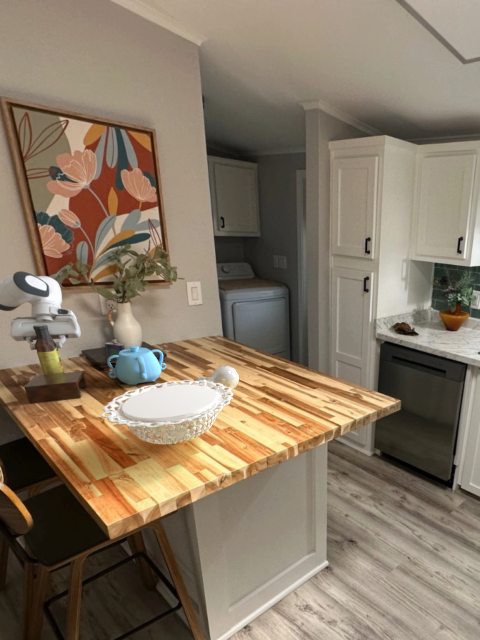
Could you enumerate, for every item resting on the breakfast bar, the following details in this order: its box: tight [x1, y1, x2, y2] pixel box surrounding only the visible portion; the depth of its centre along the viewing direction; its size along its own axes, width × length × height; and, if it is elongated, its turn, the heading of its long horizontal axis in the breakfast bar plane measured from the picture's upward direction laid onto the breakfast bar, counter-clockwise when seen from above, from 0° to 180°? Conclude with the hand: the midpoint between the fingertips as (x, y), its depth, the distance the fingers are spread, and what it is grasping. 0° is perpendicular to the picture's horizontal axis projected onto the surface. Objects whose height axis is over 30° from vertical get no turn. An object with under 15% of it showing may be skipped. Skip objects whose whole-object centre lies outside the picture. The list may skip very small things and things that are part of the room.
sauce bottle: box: [33, 324, 65, 375], centre depth 149 cm, size 7×6×20 cm
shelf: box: [23, 370, 88, 405], centre depth 142 cm, size 14×12×6 cm
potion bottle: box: [193, 365, 240, 391], centre depth 149 cm, size 9×10×15 cm
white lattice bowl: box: [100, 379, 235, 446], centre depth 113 cm, size 32×32×13 cm
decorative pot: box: [106, 345, 167, 386], centre depth 156 cm, size 16×16×14 cm
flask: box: [104, 338, 126, 359], centre depth 173 cm, size 9×3×11 cm, turn 74°
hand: (46, 348), depth 148 cm, fingers closed on sauce bottle, 6 cm apart
